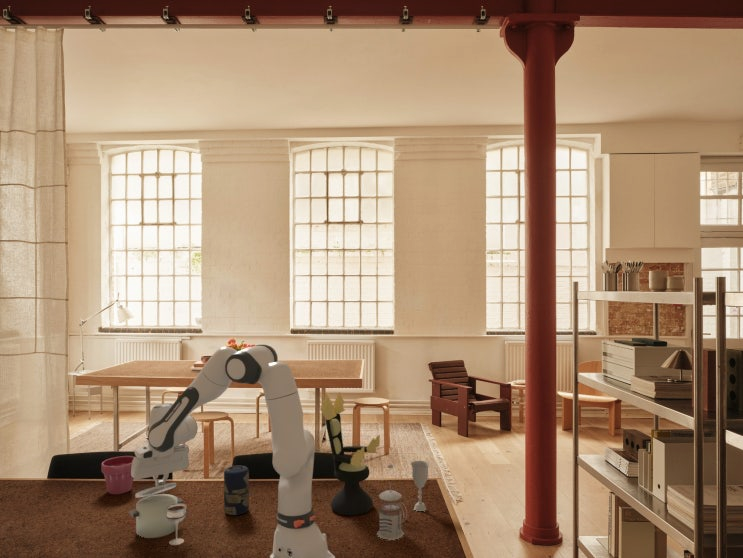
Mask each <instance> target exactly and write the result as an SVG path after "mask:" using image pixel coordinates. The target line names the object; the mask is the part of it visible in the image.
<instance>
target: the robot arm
mask: <svg viewBox="0 0 743 558" xmlns="http://www.w3.org/2000/svg"><path fill="white" fill-rule="evenodd" d="M278 359H279V358H278V354H277V351H276V350H275V349H274V348H273V347H272V346H270V345H268V344H257V345H254V346H247V347H245V348H242V349H240V350H237V349H235V348H233V347H230V346H221V347H219V348H218V349H217V350H216V351H215V352H214V353H213V354H212V355H211V356H210V358H209V359H208V360H207V361H206V363H205V364H204V365H203V367H202V368H201V370H200V371H199V372H198V374H197V375H196V377H195V378H194V379H193V381H192V382H191V383H190V384H189V385H188V386H187V387H186V389H185V390H184V391H183V392H182V393H181V394H180V395H179V397H178V398H177V399H176V400H175V401H174V402H173V403H170V402H169V403H163V404H158V405H155V406H153V407H152V408H151V410H150V413H149V421H148V422H149V423H148V434H147V440H148V442H147V443H145V444H143V445H142V446H140V447H137V448H135V449H134V455H135V456H133V457H134V459H133V461H132V466H131V476H132V477H133V480H136V481H137V480H141V479H146V478H151V477H152V478H153V480H154V481H155V485H154V486H158V485H162V484H166V481H167V480H168V478H169V476H170V475H169V474H170V473H175V472H180V471H184V470H188V468H189V467H190V459H189V453H190V447H189V446H188V445H187V444H185V443H187V442H190V441H192V440H193V439H194V438H196V436H197V434H198V423H197V420H196V419H195V418H194V417H193V416H191V415H190V414H191V413H193V411H194V410H196V409H198V408H199V407H201V406H203V405H205V404H207V403H210V402H212V401H214V400H217V399H218V398H219V397H221V396H222V395H223V394H224V393H225V392H226V391H227V389H228V388H229V387H230V385H231V384H232V382H234V383H238V384H248V385H256V384H257V383H258V384H260V386H261V388H262V390H263V394H264V399H265V403H266V408H267V412H268V417H269V421H270V422H269V424H270V430H271V431H270V432H271V446H272V466H273V469H274V471H275V472H277V474H278V475H279V481H278V485H277V486H278V488H277V494H278V495H277V502H278V503H277V505H278V506H277V510H276V522H277V525H276V528H275V530H274V533H273V545H272V553H271V554H270V555H269V558H336V556H335V555H334V554H333V553H331V551H330V550H329V548H328V542H327V534H326V533H323V532H322V531H321V530H320V527H319V526H318V524H317V523H316V520H317V518H316V517H317V515H315V511H314V508H313V507H312V497H313V496H312V494H313V493H312V488H313V486H312V483H313V474H314V462H315V447H316V444H315V442H316V441H315V437H314V435H313V434H312V433H311V432H310V431H309V430H307V429H305V428H304V410H303V407H302V406H303V405H302V403H301V398H300V395H299V394H300V393H299V391H298V387H297V383H296V380H295V377H294V374H293V372H292V369H291V368H290V366H289V364H288V363H286V362H284V361H279V360H278ZM161 475H163V477H162V478H161V479H159V476H161ZM158 479H159V480H158Z"/></svg>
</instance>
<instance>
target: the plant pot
mask: <svg viewBox="0 0 743 558" xmlns="http://www.w3.org/2000/svg"><path fill="white" fill-rule="evenodd" d="M134 457H135V456H133V455H124V456H123V455H122V456H115V457H110V458H108V459H105V460H104V461H102V462H101V473H102V474H103V476H104V481H105V485H106V489H107V493H108V494H111V495H120V494H121V495H122V494H125V493H128V492H130V491H131V490H132V489H133V488H132V486H133V483H134V482H133V481H134V478H133V477H132V476H131V466H132V461H133V459H134Z"/></svg>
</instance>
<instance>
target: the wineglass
mask: <svg viewBox="0 0 743 558" xmlns="http://www.w3.org/2000/svg"><path fill="white" fill-rule="evenodd" d="M166 509H167V512H166V517H167V519H168V520H169V521H170V522H173V523H174V524H175V528H176V530H175V538H173V539H171V540H170V541H169V542H168V543H169V545H171V546H178V545H181V544H183V543H184V542H185V539H183V538H179V537H178V530H179V529H178V527H179V526H178V525H179V523H180V522H182V521H183V520H184V519H185V518H186V516H187V512H188V511H187V504H185V503H184V502H183V503H176V504H172V505H169V506H168V507H167V508H166Z"/></svg>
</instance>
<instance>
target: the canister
mask: <svg viewBox="0 0 743 558" xmlns="http://www.w3.org/2000/svg"><path fill="white" fill-rule="evenodd" d="M249 473H250V471H249V468H248V466H245V465H241V464H240V465H232V466H229V467H226V468H225V469H224V471H223V502H224V503H223V507H224V508H223V510H224V512H225V514H227V515H231V516H238V515H243V514H245V513H247V512H248V511H249V507H250V493H249V492H250V474H249Z"/></svg>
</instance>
